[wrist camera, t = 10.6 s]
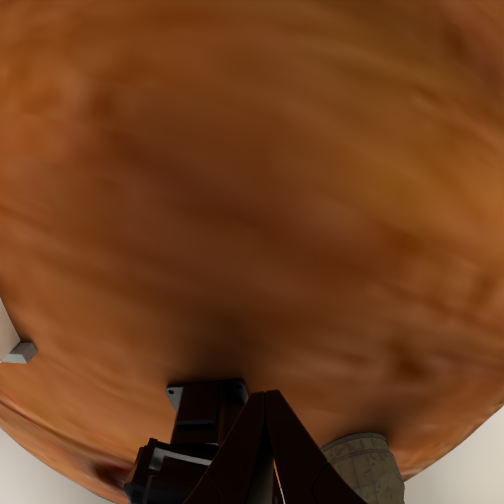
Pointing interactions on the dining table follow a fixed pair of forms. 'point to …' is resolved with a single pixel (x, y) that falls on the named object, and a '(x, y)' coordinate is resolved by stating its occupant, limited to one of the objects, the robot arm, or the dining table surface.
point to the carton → (6, 333)
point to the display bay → (21, 353)
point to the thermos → (367, 467)
